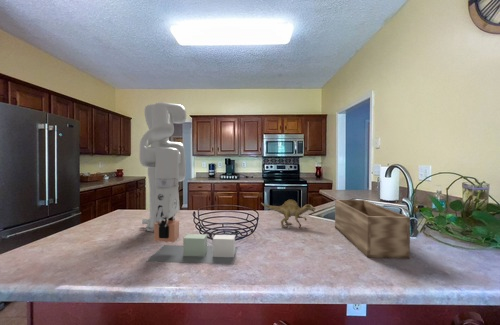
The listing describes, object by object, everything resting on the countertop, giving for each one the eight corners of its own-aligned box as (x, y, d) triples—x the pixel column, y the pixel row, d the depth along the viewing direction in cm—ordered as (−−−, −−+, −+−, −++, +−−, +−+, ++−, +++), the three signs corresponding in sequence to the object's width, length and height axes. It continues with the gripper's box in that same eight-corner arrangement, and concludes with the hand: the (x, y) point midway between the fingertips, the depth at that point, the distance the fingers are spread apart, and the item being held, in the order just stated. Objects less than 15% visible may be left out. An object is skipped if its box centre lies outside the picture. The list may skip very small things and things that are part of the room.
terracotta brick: (154, 241, 73) (154, 223, 73) (159, 236, 77) (159, 220, 77) (174, 241, 73) (174, 224, 73) (178, 237, 77) (179, 220, 77)
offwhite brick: (212, 256, 72) (212, 238, 71) (215, 251, 76) (215, 234, 75) (233, 257, 71) (233, 239, 71) (235, 252, 75) (235, 235, 75)
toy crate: (367, 257, 73) (367, 216, 73) (335, 227, 105) (335, 199, 105) (409, 258, 73) (410, 217, 72) (364, 228, 105) (364, 200, 104)
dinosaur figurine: (315, 229, 102) (315, 202, 102) (260, 226, 107) (260, 199, 107) (313, 225, 110) (313, 199, 110) (262, 222, 115) (262, 197, 114)
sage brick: (183, 255, 72) (183, 238, 72) (187, 250, 76) (187, 234, 76) (203, 256, 72) (203, 238, 72) (206, 251, 76) (207, 234, 76)
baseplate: (145, 263, 68) (145, 261, 68) (164, 247, 81) (164, 245, 81) (233, 266, 67) (233, 264, 67) (237, 249, 80) (237, 247, 80)
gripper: (167, 187, 66) (166, 245, 66) (186, 180, 82) (185, 227, 83) (143, 186, 66) (143, 245, 67) (167, 180, 83) (166, 227, 83)
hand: (166, 234), depth 75 cm, fingers closed on terracotta brick, 3 cm apart
